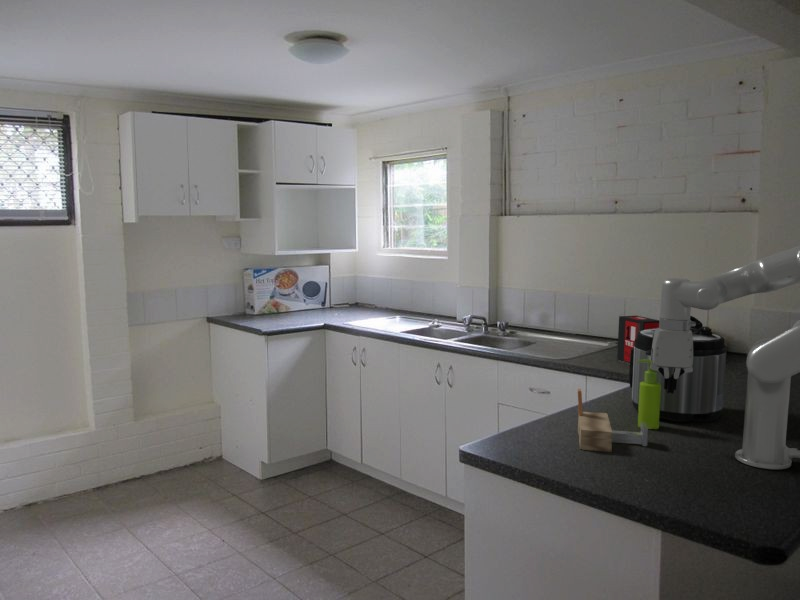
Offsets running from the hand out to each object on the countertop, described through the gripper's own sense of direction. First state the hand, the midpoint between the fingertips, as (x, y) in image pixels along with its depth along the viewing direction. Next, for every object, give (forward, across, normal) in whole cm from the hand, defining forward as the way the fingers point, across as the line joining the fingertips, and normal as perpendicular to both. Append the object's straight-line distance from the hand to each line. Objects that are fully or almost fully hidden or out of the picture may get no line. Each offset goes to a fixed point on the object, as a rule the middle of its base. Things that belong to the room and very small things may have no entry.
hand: (669, 392), depth 180 cm
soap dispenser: (+15, +3, -17) cm, 23 cm away
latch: (+6, +22, -6) cm, 24 cm away
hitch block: (+15, +19, 0) cm, 24 cm away
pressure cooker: (+15, -8, -34) cm, 38 cm away
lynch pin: (+15, +13, 0) cm, 20 cm away
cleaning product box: (+16, -5, -109) cm, 110 cm away
